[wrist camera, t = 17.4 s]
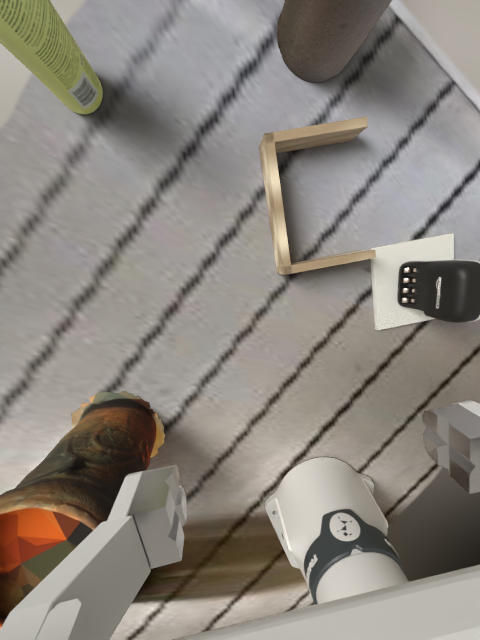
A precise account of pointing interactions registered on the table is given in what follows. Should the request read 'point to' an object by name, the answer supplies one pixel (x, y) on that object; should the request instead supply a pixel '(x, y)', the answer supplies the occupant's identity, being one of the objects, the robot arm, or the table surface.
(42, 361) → the table surface
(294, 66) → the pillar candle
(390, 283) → the mat
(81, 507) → the vessel
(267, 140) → the bay
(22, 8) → the tube
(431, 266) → the battery charger
